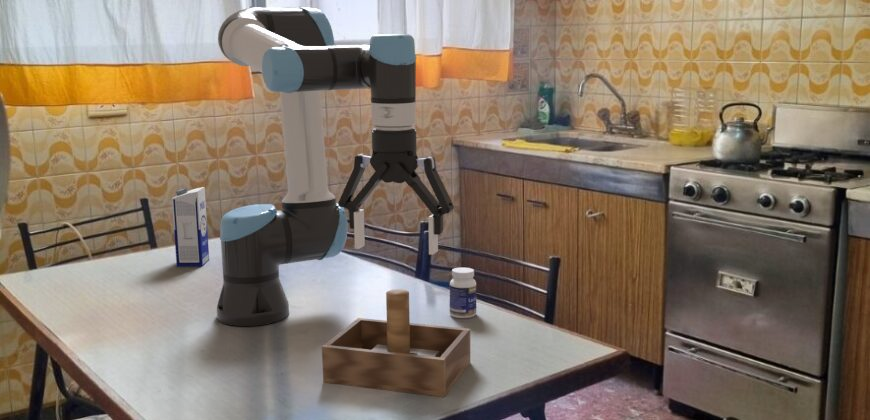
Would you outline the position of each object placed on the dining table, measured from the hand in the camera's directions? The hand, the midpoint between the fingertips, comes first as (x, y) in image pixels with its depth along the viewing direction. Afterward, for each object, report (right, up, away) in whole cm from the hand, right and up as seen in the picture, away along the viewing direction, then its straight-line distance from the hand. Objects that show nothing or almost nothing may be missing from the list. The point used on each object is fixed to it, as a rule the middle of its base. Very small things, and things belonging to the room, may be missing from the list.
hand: (396, 250), depth 153 cm
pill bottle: (+13, -16, +36) cm, 41 cm away
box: (0, -22, +5) cm, 22 cm away
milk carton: (-57, -7, +80) cm, 98 cm away
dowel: (0, -21, +4) cm, 22 cm away
